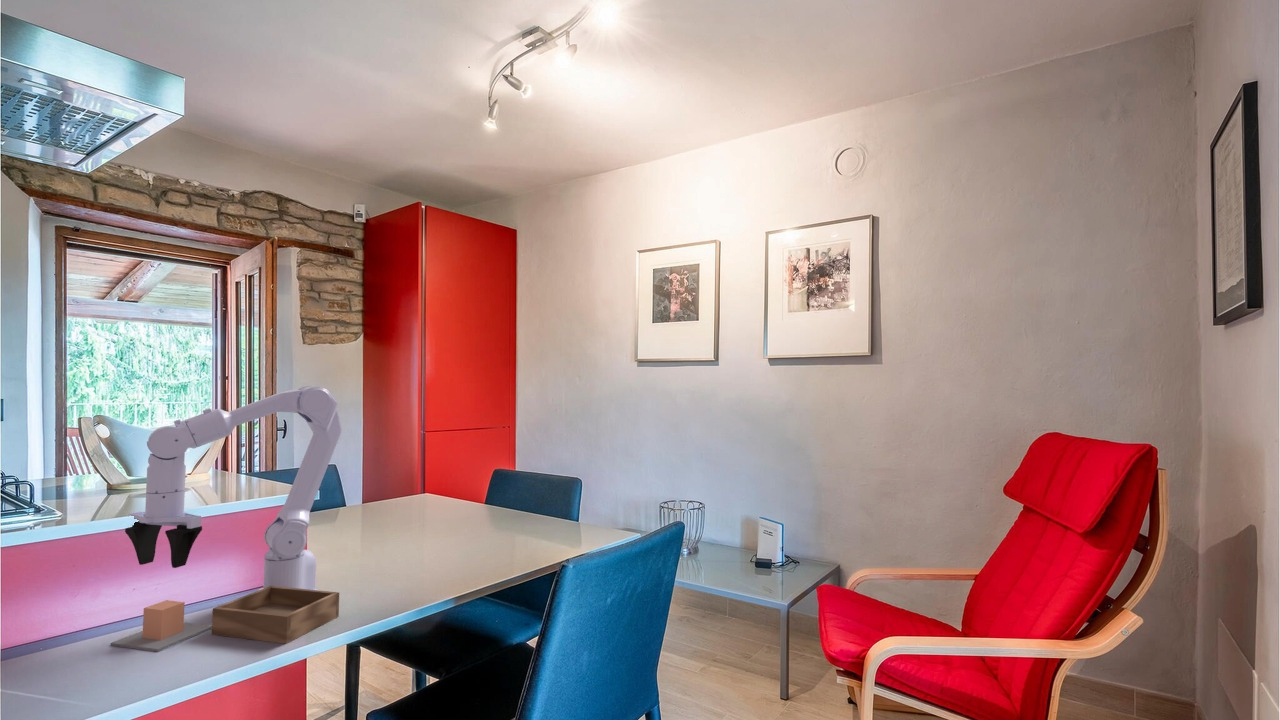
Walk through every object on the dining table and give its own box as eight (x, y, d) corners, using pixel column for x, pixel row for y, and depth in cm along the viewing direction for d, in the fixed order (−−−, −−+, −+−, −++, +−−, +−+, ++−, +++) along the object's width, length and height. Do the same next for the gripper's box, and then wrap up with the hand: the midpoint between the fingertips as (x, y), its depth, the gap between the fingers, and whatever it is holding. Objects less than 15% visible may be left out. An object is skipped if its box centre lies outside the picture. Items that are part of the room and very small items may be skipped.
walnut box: (269, 609, 119) (270, 585, 119) (338, 616, 116) (339, 592, 116) (211, 634, 107) (212, 608, 107) (286, 643, 103) (287, 616, 104)
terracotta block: (165, 628, 108) (166, 600, 108) (183, 630, 107) (184, 602, 107) (142, 637, 104) (143, 608, 104) (160, 640, 103) (162, 610, 104)
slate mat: (168, 622, 112) (168, 620, 112) (213, 628, 110) (213, 625, 110) (110, 645, 102) (110, 642, 102) (158, 651, 100) (158, 649, 100)
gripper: (112, 492, 111) (108, 568, 110) (176, 496, 108) (172, 574, 107) (151, 486, 118) (148, 557, 117) (212, 490, 115) (209, 563, 114)
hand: (162, 564), depth 113 cm, fingers open, 7 cm apart
